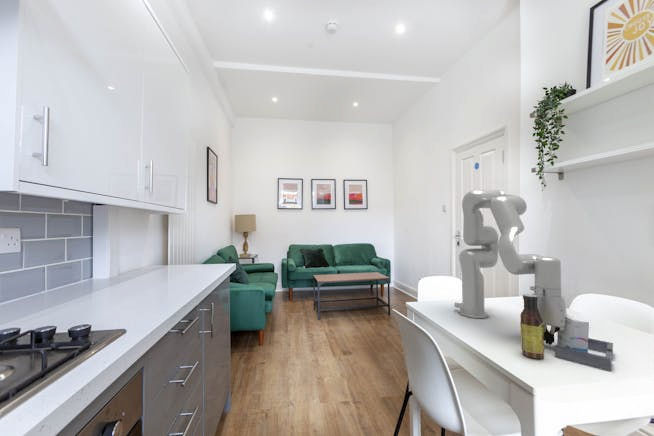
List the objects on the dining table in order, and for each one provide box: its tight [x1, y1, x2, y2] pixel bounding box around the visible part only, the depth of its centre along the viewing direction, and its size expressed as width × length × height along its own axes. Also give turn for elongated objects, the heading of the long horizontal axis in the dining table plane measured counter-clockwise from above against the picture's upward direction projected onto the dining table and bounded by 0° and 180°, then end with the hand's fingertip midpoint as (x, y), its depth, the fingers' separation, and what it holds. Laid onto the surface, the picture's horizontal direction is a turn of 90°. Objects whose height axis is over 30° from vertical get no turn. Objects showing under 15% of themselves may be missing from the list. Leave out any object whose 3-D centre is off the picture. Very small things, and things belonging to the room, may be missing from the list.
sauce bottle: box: [519, 293, 545, 360], centre depth 97 cm, size 7×6×20 cm
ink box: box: [556, 313, 590, 353], centre depth 99 cm, size 9×5×12 cm, turn 170°
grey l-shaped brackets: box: [554, 337, 614, 372], centre depth 97 cm, size 13×16×4 cm
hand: (548, 343), depth 103 cm, fingers closed
